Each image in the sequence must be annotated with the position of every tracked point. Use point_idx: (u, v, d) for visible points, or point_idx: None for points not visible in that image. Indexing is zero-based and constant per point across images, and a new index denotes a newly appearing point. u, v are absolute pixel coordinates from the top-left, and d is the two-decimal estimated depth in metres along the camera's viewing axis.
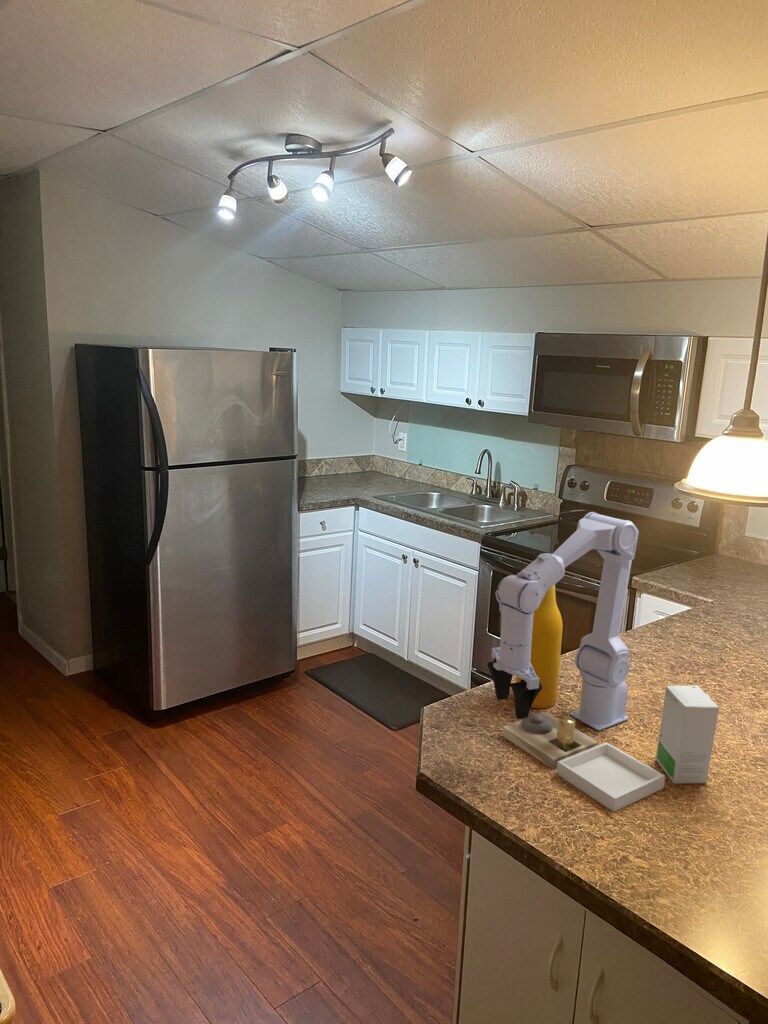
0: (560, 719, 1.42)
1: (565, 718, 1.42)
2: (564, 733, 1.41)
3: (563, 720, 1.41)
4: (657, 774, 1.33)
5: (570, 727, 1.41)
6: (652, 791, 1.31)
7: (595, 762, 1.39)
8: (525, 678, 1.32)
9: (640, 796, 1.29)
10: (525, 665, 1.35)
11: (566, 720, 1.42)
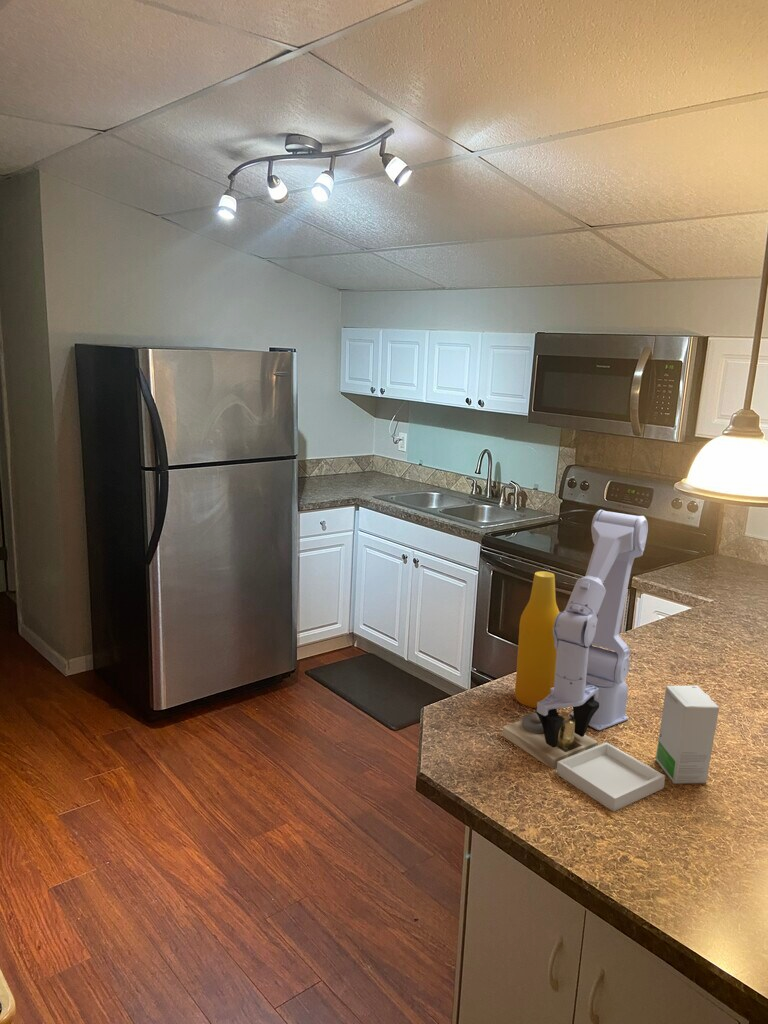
0: None
1: (565, 718, 1.42)
2: (564, 733, 1.41)
3: None
4: (657, 774, 1.33)
5: (570, 727, 1.41)
6: (652, 791, 1.31)
7: (595, 762, 1.39)
8: None
9: (640, 796, 1.29)
10: (561, 697, 1.38)
11: (566, 720, 1.42)
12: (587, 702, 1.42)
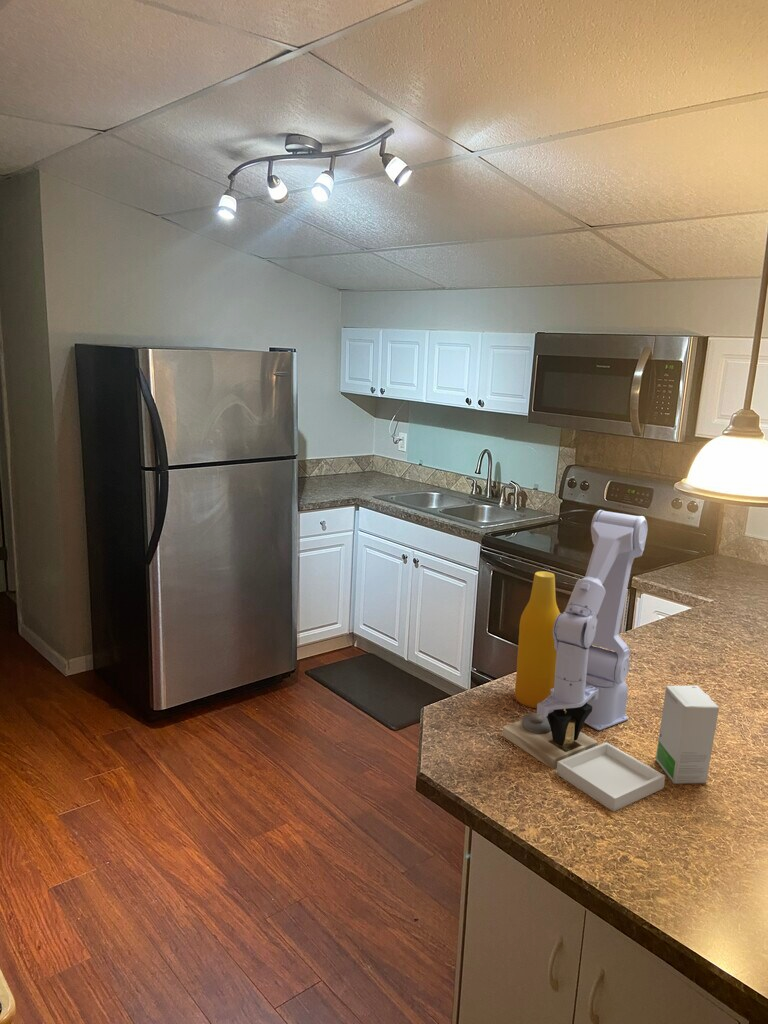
0: None
1: None
2: None
3: None
4: (657, 774, 1.33)
5: (571, 727, 1.40)
6: (652, 791, 1.31)
7: (595, 762, 1.39)
8: (541, 703, 1.38)
9: (640, 796, 1.29)
10: (561, 698, 1.39)
11: None
12: (587, 703, 1.43)
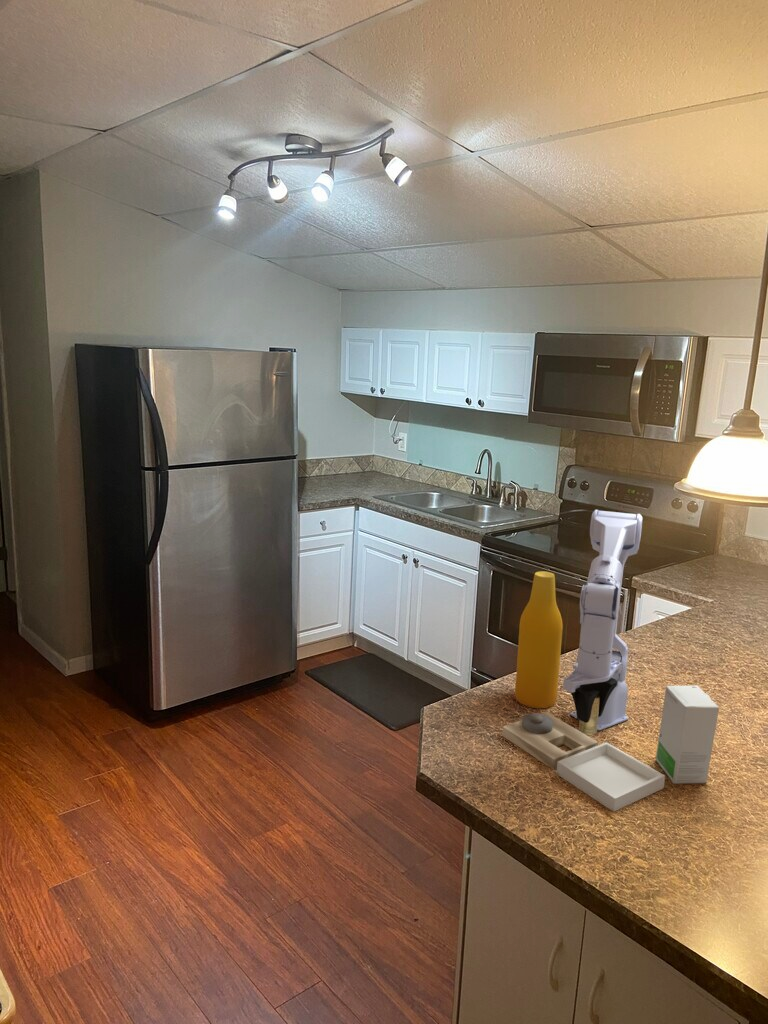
0: None
1: None
2: None
3: None
4: (657, 774, 1.33)
5: (596, 703, 1.35)
6: (652, 791, 1.31)
7: (595, 762, 1.39)
8: None
9: (640, 796, 1.29)
10: (587, 672, 1.32)
11: None
12: (611, 677, 1.37)
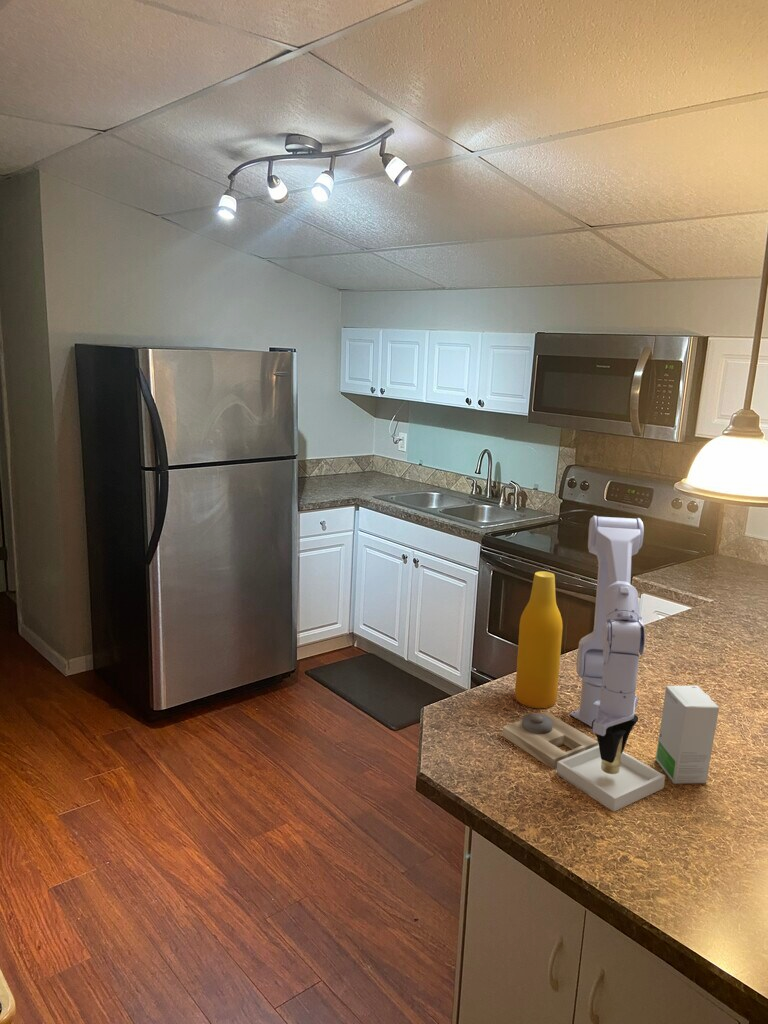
0: None
1: None
2: None
3: None
4: (657, 774, 1.33)
5: (620, 742, 1.31)
6: (652, 791, 1.31)
7: (595, 762, 1.39)
8: None
9: (640, 796, 1.29)
10: (614, 712, 1.29)
11: None
12: None
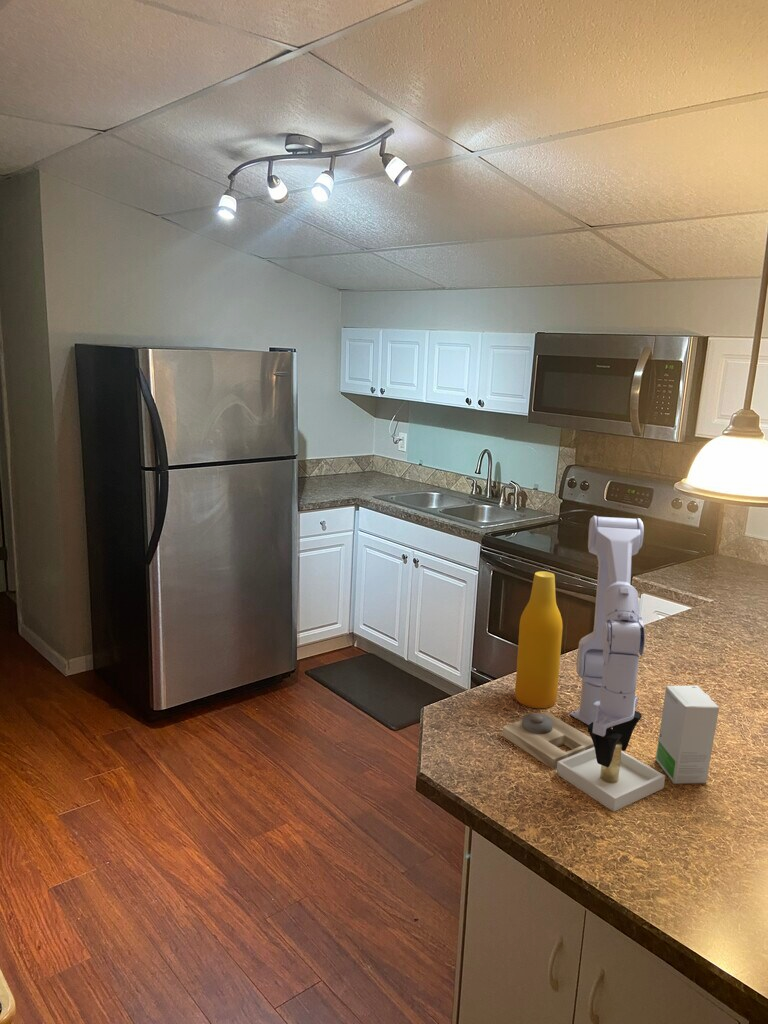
0: None
1: None
2: (612, 758, 1.32)
3: None
4: (657, 774, 1.33)
5: (619, 751, 1.32)
6: (652, 791, 1.31)
7: (595, 762, 1.39)
8: None
9: (640, 796, 1.29)
10: (613, 713, 1.29)
11: None
12: None
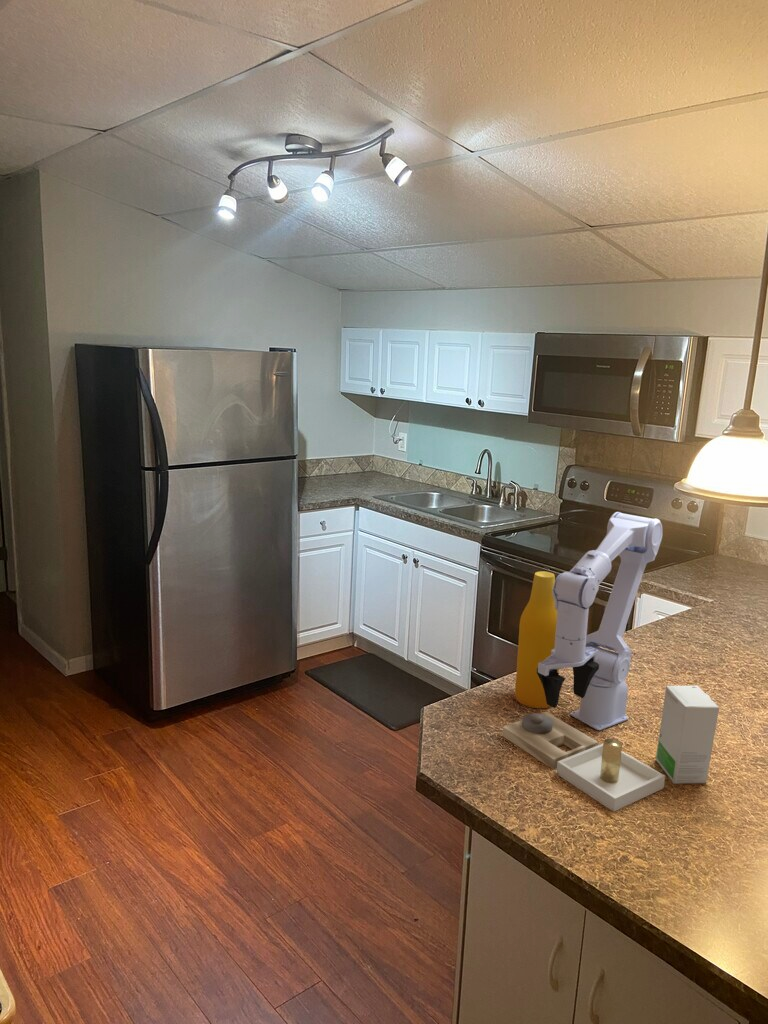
0: (606, 743, 1.32)
1: (610, 742, 1.33)
2: (612, 758, 1.32)
3: (610, 744, 1.32)
4: (657, 774, 1.33)
5: (619, 751, 1.32)
6: (652, 791, 1.31)
7: (595, 762, 1.39)
8: None
9: (640, 796, 1.29)
10: (561, 657, 1.40)
11: (613, 744, 1.32)
12: (587, 663, 1.44)
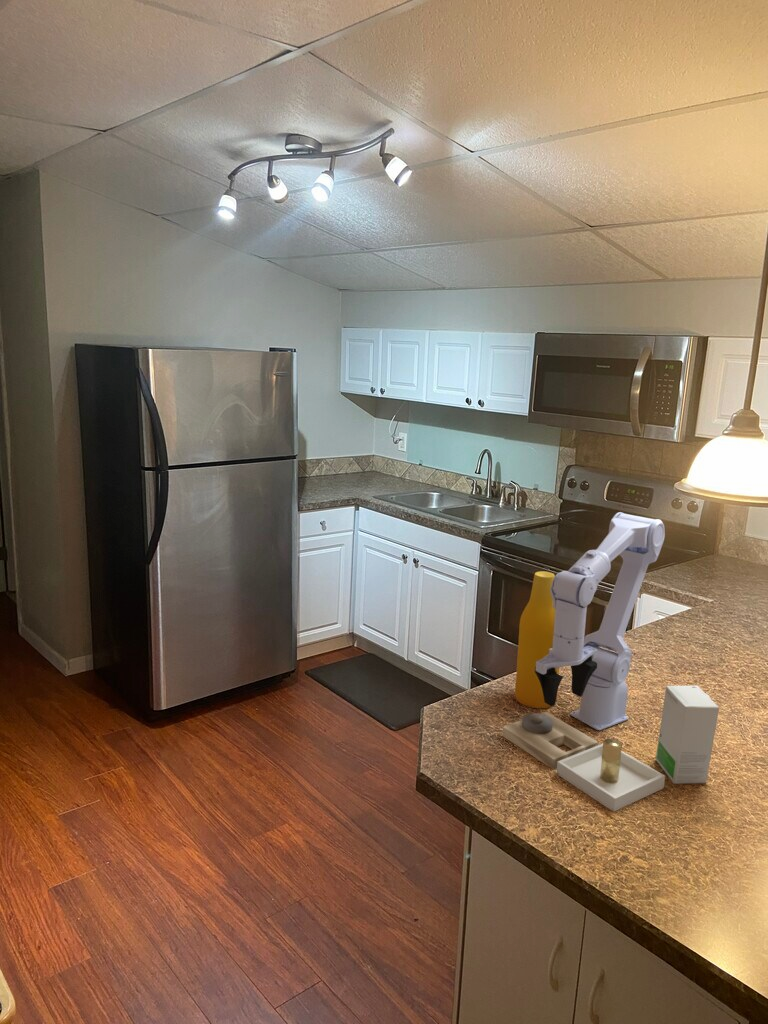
0: (606, 743, 1.32)
1: (609, 742, 1.33)
2: (612, 758, 1.32)
3: (610, 744, 1.32)
4: (657, 774, 1.33)
5: (619, 751, 1.32)
6: (652, 791, 1.31)
7: (595, 762, 1.39)
8: None
9: (640, 796, 1.29)
10: (559, 656, 1.41)
11: (612, 744, 1.32)
12: (585, 662, 1.44)
